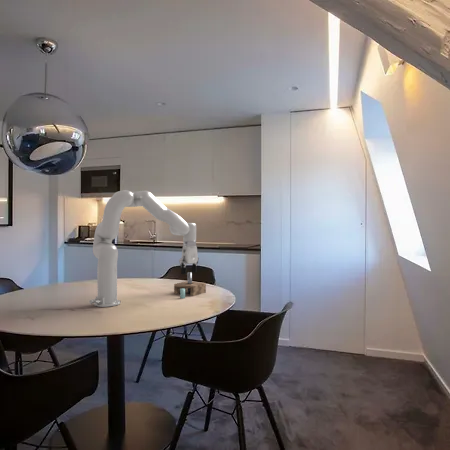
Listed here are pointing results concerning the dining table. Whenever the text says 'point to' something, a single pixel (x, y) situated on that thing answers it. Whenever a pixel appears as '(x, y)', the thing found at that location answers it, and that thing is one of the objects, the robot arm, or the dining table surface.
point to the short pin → (182, 293)
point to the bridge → (195, 287)
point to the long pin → (189, 280)
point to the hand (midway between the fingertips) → (189, 273)
